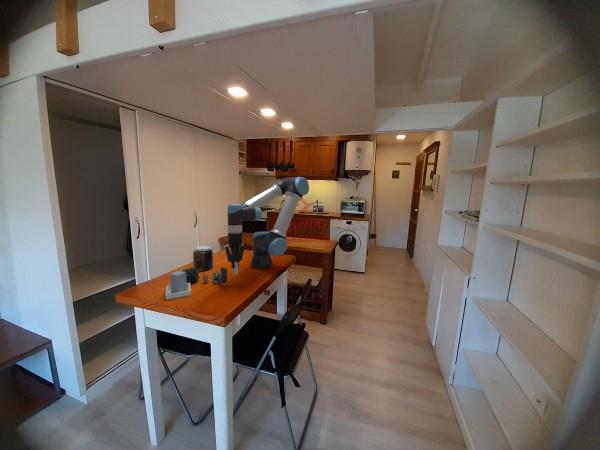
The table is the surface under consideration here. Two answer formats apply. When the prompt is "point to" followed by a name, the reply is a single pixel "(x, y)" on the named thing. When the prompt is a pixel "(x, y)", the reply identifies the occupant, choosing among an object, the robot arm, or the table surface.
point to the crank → (221, 275)
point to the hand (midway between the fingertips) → (235, 273)
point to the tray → (178, 294)
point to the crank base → (205, 279)
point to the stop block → (178, 282)
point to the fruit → (191, 275)
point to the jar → (203, 259)
